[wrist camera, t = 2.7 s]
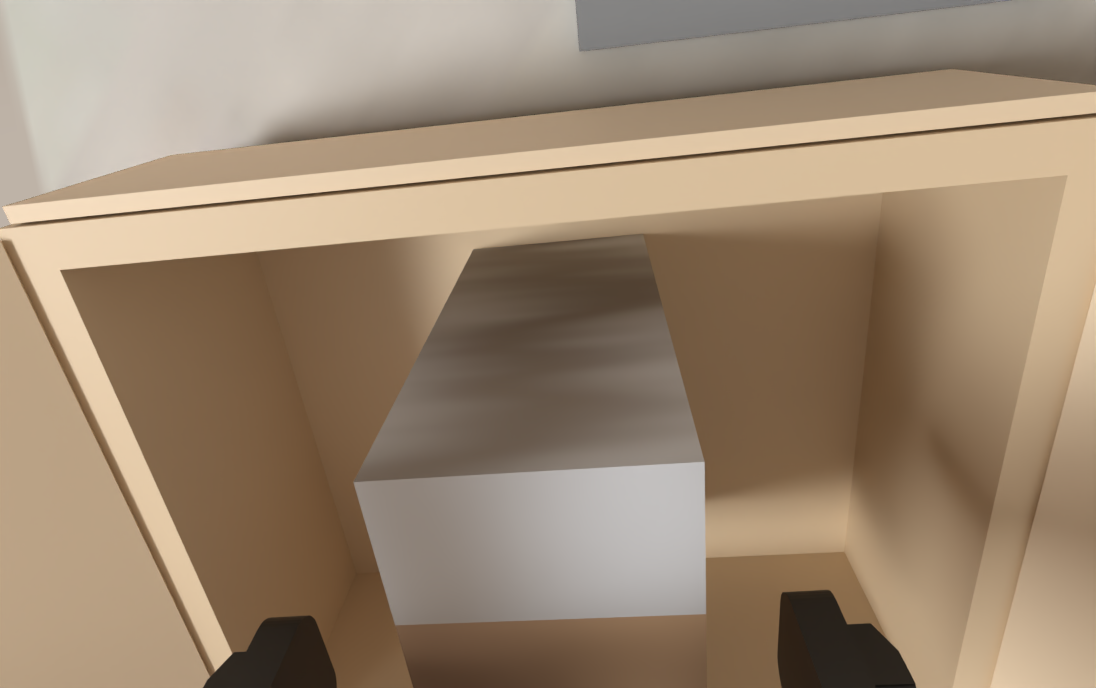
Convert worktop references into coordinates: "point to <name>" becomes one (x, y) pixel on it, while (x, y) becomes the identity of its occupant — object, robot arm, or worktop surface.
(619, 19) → the plate
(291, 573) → the carton
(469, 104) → the worktop surface
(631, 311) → the block
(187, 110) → the worktop surface
